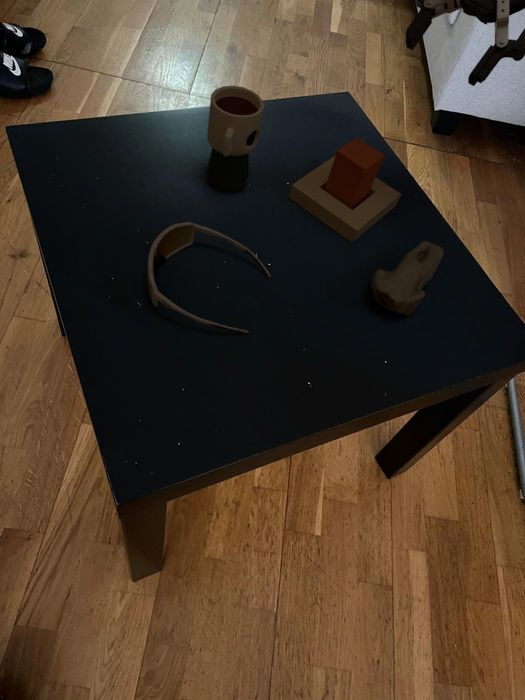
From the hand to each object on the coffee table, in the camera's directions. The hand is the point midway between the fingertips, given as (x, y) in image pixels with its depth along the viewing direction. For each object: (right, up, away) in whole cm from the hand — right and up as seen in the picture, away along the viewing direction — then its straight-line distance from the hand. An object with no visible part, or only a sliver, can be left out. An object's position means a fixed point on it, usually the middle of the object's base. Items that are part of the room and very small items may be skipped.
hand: (439, 63), depth 61 cm
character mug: (-26, -7, +20) cm, 33 cm away
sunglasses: (-27, -24, +8) cm, 38 cm away
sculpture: (-1, -23, +14) cm, 28 cm away
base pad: (-8, -10, +22) cm, 25 cm away
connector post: (-8, -10, +22) cm, 25 cm away
